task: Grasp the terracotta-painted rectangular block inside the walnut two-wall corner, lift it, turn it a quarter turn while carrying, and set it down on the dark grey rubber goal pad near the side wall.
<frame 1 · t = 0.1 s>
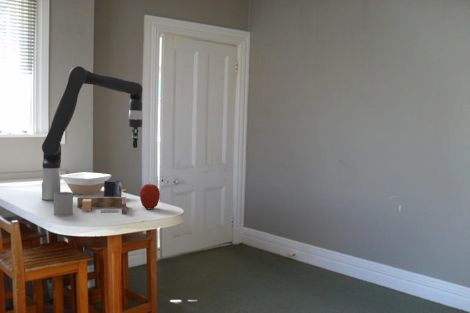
hand: (135, 147, 289), 29 cm above the table, fingers open, 8 cm apart
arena: (121, 207, 264), on the table
small box: (112, 198, 289), on the table
cup: (63, 214, 242), on the table
apple: (149, 209, 262), on the table
bowl: (86, 193, 306), on the table
block: (86, 209, 254), on the table
goal pad: (109, 211, 252), on the table
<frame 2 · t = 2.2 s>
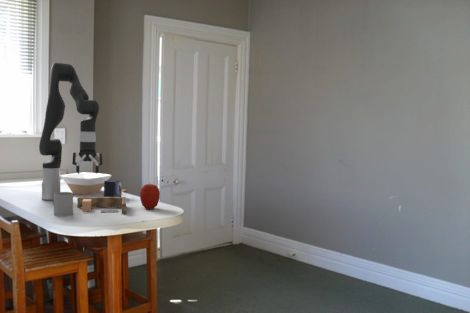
hand: (87, 173, 253), 18 cm above the table, fingers open, 8 cm apart
nothing on the table moved.
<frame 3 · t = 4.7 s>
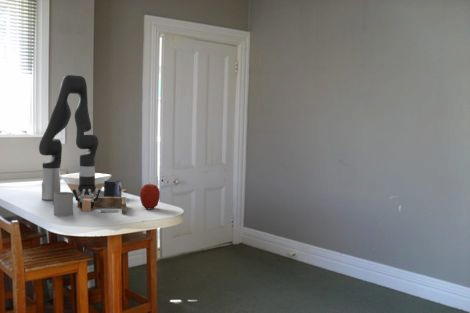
hand: (86, 209, 254), 0 cm above the table, fingers closed on block, 4 cm apart
block: (86, 209, 254), on the table, touching gripper
everything else where it was.
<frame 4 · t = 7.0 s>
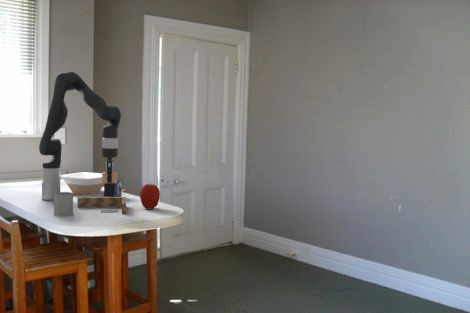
hand: (109, 181, 251), 15 cm above the table, fingers closed on block, 4 cm apart
block: (109, 182, 251), point 14 cm above the table, touching gripper
everything else where it was.
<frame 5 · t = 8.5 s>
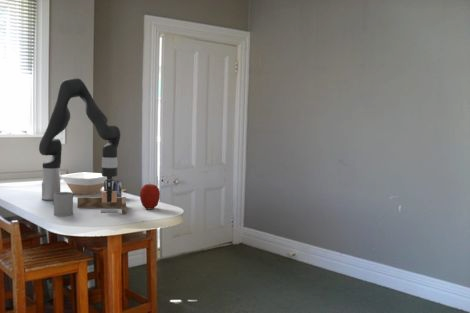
hand: (109, 200, 251), 5 cm above the table, fingers closed on block, 4 cm apart
block: (109, 201, 251), point 5 cm above the table, touching gripper
everything else where it was.
when the fingers open (2 cm above the table, at t = 9.6 s): block drops 1 cm, resting on goal pad.
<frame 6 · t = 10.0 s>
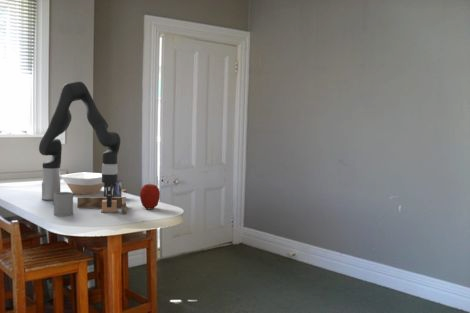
hand: (109, 205, 252), 3 cm above the table, fingers open, 8 cm apart
block: (109, 210, 252), resting on goal pad
everything else where it was.
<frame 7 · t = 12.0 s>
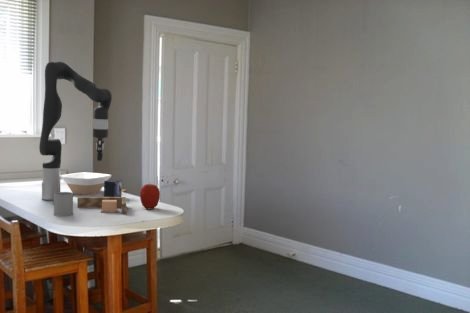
hand: (99, 159, 262), 24 cm above the table, fingers open, 8 cm apart
nothing on the table moved.
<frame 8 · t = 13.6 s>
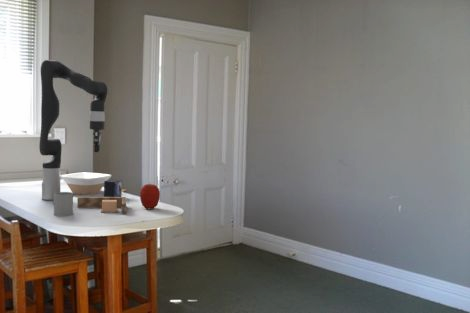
hand: (96, 151, 265), 28 cm above the table, fingers open, 8 cm apart
nothing on the table moved.
at the end: block 0.1 cm off-centre on the goal pad, point 0.3 cm above the goal pad's base; block tilted 0°; the gripper is holding nothing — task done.
